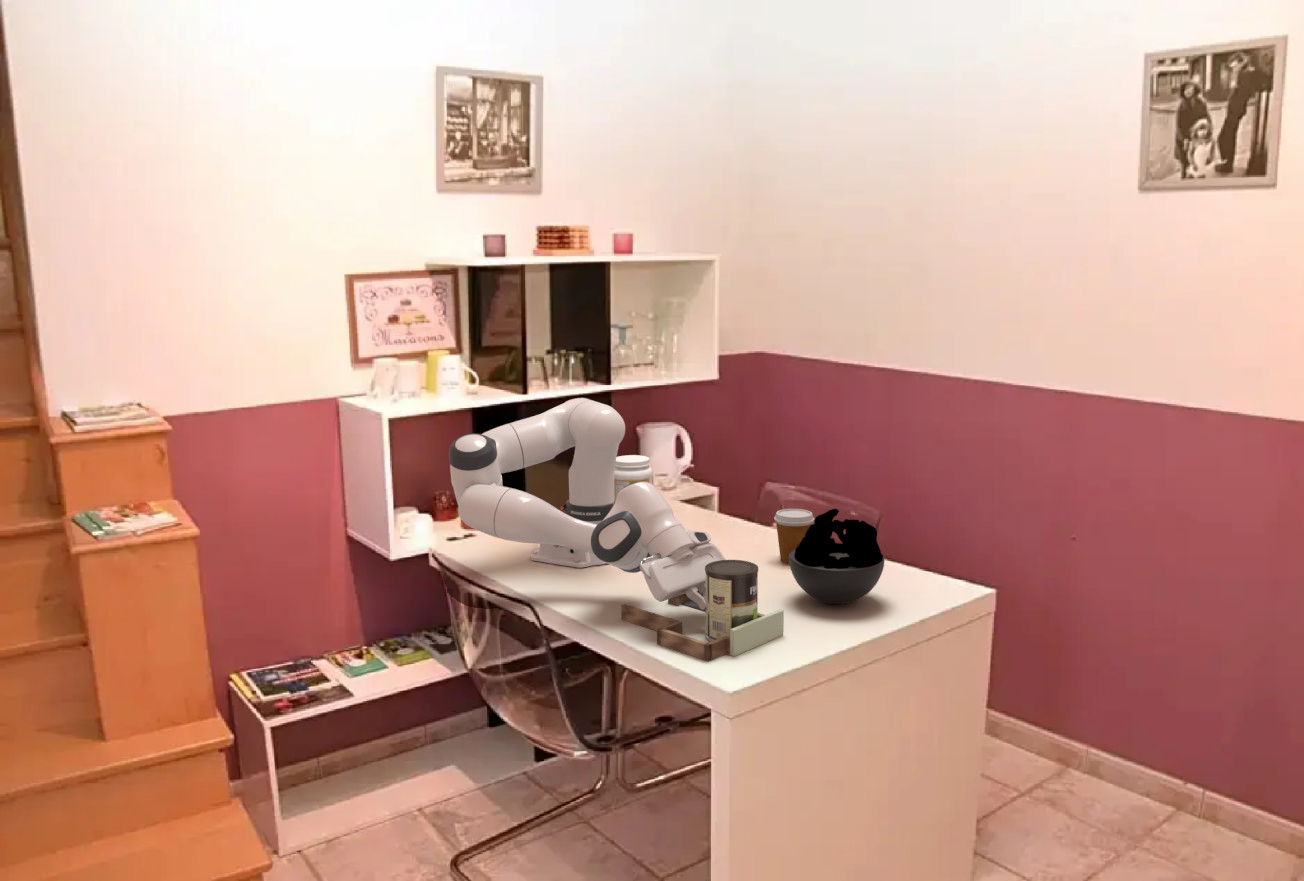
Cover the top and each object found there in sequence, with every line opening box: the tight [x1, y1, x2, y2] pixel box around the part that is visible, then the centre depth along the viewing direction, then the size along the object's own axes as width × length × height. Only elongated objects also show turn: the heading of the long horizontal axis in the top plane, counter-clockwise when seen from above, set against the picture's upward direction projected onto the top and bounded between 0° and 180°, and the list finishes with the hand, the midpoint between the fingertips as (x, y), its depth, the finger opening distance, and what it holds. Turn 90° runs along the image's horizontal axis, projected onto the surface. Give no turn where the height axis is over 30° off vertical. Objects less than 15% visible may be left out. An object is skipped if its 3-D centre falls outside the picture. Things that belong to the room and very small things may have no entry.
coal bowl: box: [788, 508, 885, 605], centre depth 223 cm, size 20×20×19 cm
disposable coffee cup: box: [773, 508, 815, 566], centre depth 253 cm, size 10×10×12 cm
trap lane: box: [620, 590, 765, 662], centre depth 211 cm, size 29×25×3 cm
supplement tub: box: [614, 454, 654, 500], centre depth 298 cm, size 12×12×17 cm
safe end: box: [729, 608, 785, 657], centre depth 200 cm, size 1×15×5 cm, turn 136°
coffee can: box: [705, 559, 759, 642], centre depth 204 cm, size 10×10×14 cm
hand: (708, 606), depth 208 cm, fingers closed, pressing on coffee can
